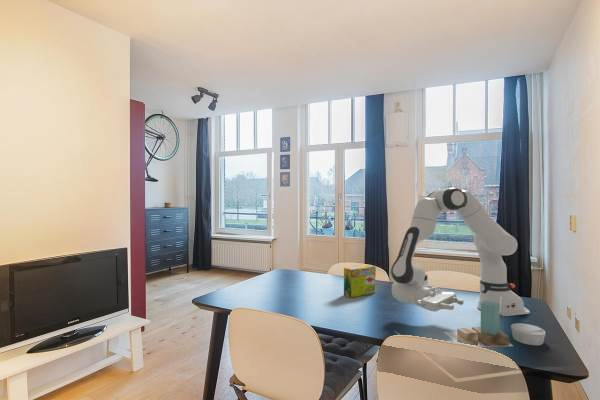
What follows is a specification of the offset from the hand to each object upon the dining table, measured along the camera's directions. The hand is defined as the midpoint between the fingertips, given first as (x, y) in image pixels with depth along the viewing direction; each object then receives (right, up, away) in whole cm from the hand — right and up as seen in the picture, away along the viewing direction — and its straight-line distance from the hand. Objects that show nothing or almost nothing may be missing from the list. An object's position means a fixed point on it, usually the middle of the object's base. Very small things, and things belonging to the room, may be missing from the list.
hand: (458, 305), depth 139 cm
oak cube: (-2, -11, -11) cm, 16 cm away
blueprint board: (+4, -12, -7) cm, 14 cm away
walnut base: (+8, -11, -9) cm, 16 cm away
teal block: (+8, -7, -9) cm, 14 cm away
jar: (+3, -11, +52) cm, 53 cm away
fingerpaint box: (-31, -11, +56) cm, 64 cm away
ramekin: (+23, -12, -8) cm, 27 cm away
